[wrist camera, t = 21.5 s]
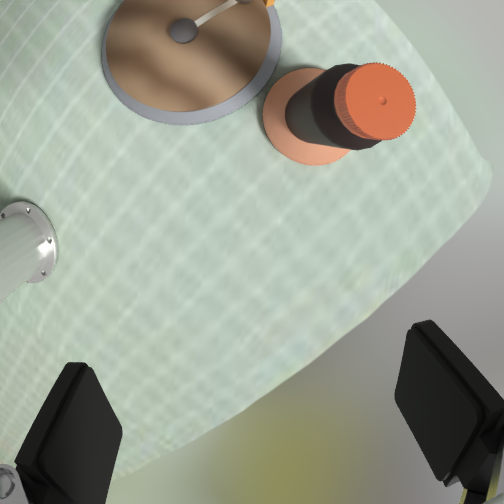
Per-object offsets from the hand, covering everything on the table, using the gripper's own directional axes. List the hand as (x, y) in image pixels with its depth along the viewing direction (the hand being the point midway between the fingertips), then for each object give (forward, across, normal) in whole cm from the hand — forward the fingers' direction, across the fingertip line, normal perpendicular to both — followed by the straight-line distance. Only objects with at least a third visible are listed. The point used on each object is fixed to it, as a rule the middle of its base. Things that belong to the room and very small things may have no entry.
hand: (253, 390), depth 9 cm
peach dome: (+32, -10, -8) cm, 35 cm away
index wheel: (+31, +3, -20) cm, 37 cm away
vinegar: (+31, -10, -9) cm, 34 cm away
